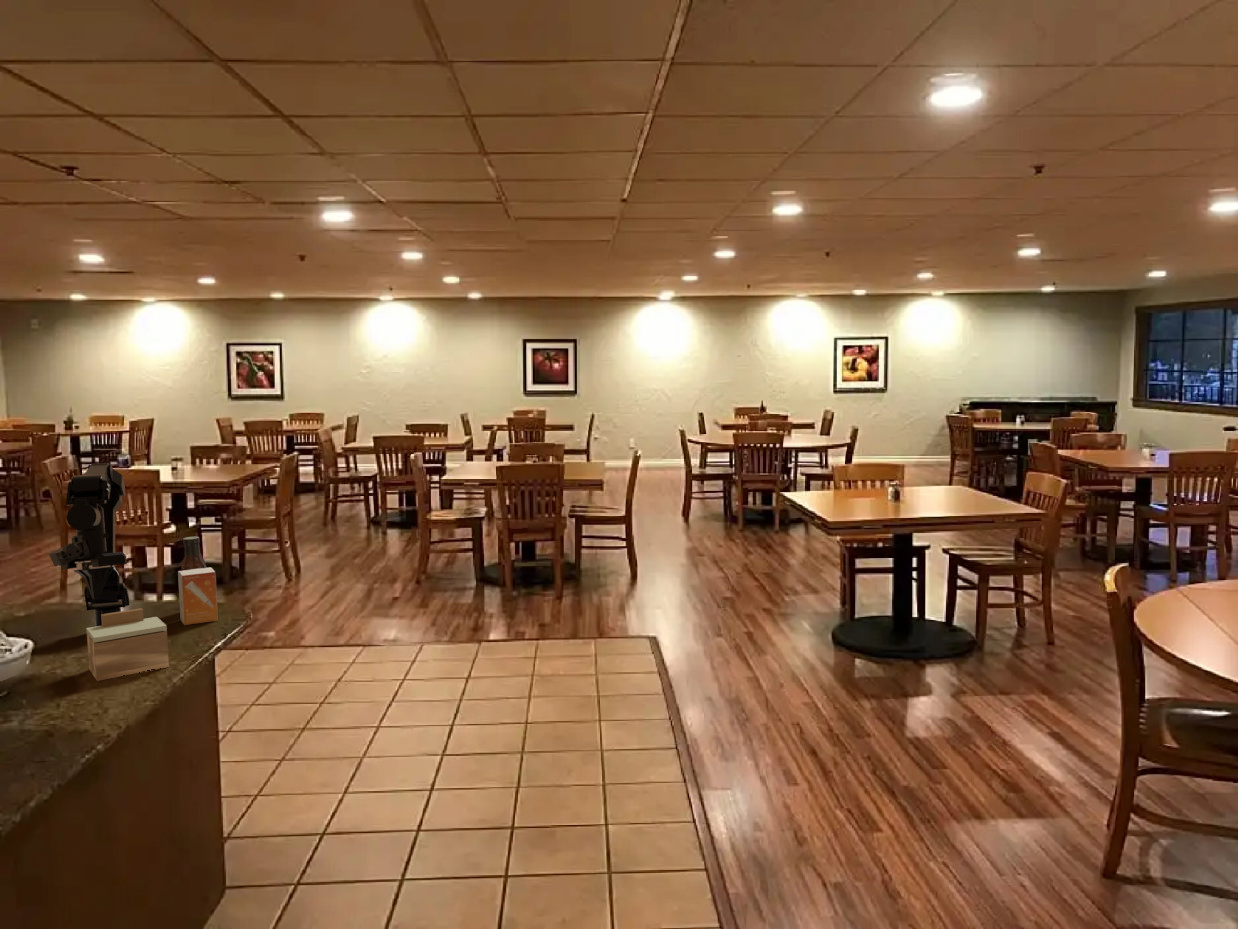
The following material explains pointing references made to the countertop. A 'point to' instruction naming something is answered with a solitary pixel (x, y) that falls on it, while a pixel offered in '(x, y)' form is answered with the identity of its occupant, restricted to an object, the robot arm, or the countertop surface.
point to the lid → (124, 625)
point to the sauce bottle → (192, 554)
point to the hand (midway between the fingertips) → (96, 599)
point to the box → (128, 655)
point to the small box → (197, 595)
